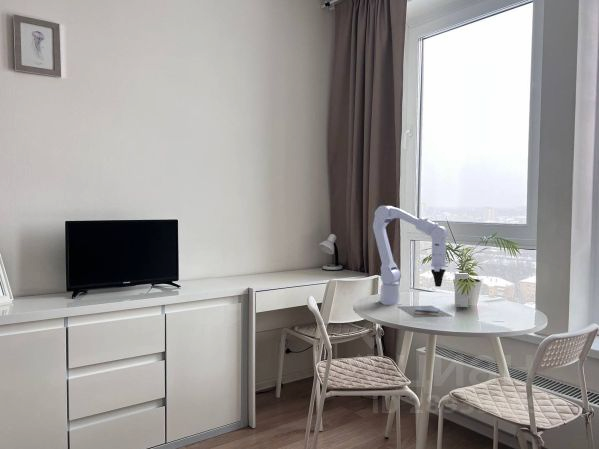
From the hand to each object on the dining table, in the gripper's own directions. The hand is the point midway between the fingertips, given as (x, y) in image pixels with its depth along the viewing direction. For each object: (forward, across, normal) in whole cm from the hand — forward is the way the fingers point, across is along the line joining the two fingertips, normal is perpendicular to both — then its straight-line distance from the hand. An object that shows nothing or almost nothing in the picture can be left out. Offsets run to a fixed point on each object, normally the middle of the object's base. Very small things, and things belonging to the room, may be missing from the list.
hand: (438, 286), depth 196 cm
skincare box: (+10, +12, -9) cm, 18 cm away
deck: (+9, -7, +3) cm, 12 cm away
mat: (+10, -8, +5) cm, 13 cm away
